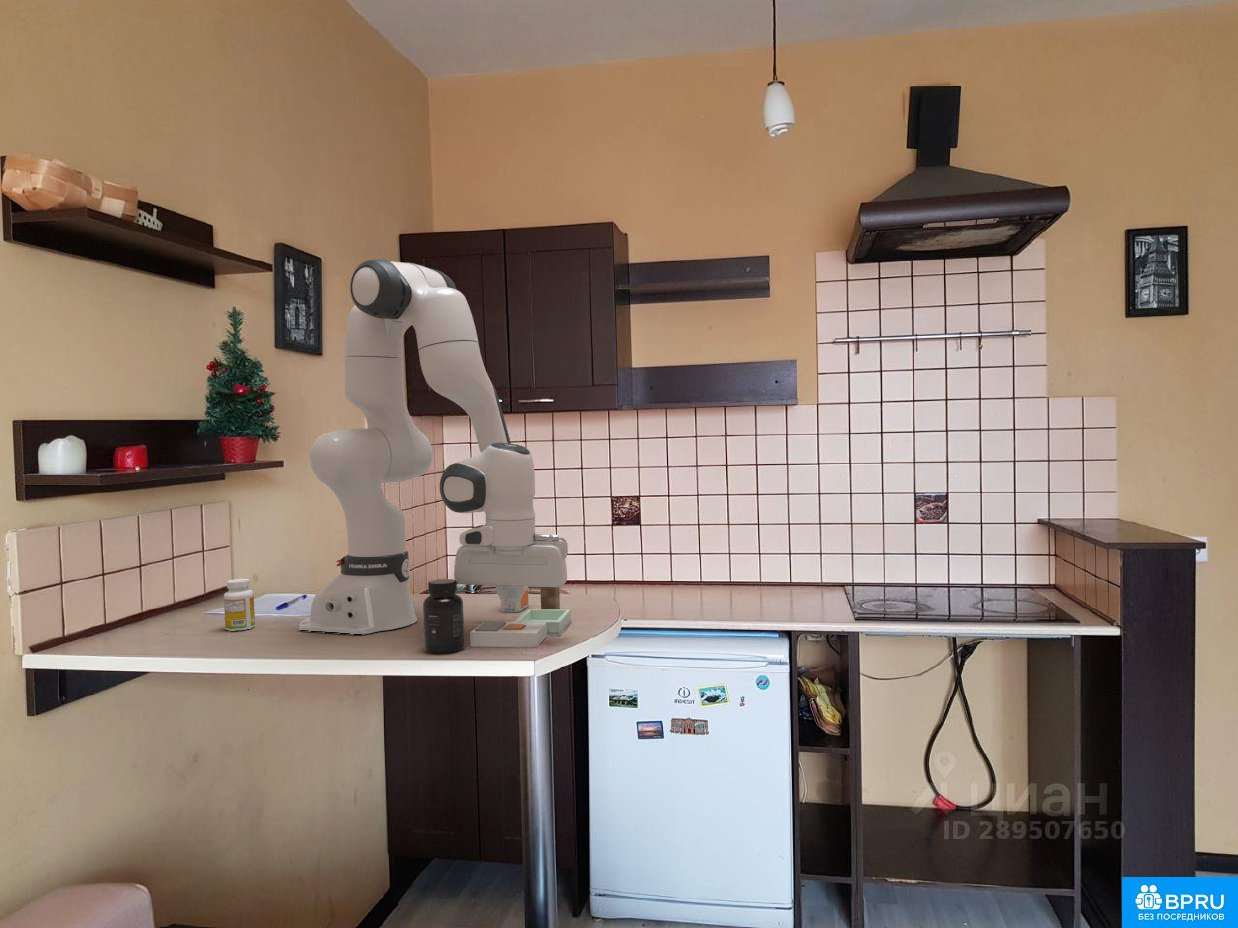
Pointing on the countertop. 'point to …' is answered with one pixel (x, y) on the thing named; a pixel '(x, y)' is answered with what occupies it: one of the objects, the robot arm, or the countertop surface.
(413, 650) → the countertop surface
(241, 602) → the supplement bottle
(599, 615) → the countertop surface
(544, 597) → the wooden block
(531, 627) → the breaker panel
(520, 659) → the countertop surface
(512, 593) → the skincare box
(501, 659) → the countertop surface
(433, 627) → the supplement bottle
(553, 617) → the bay tray
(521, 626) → the button
